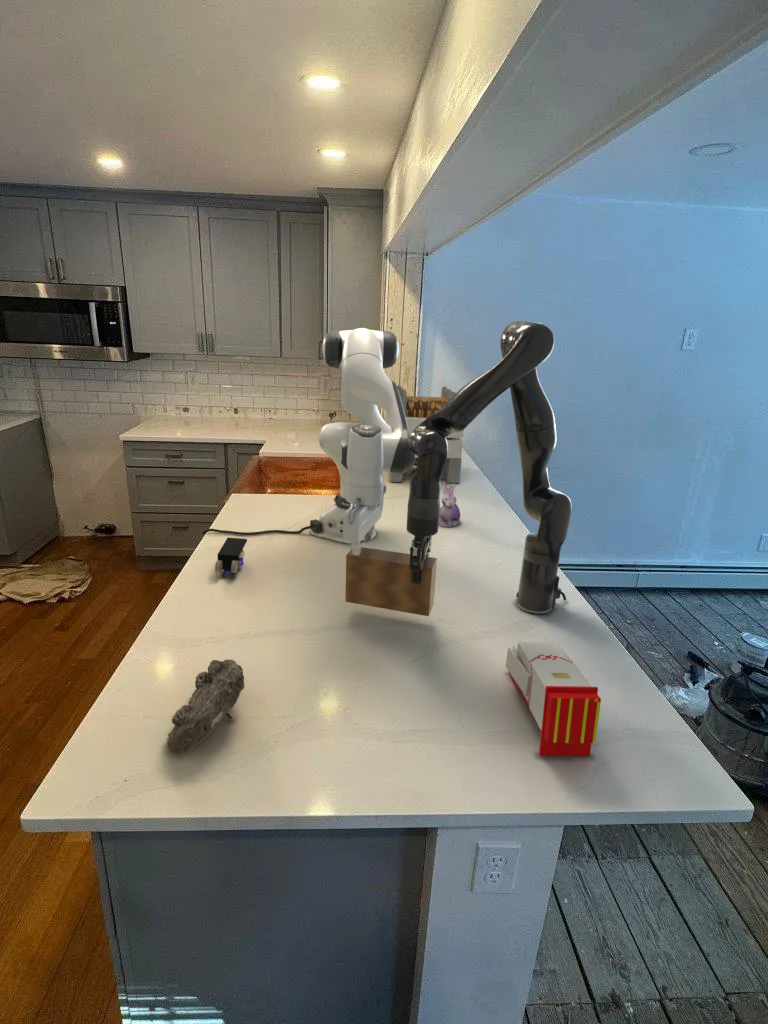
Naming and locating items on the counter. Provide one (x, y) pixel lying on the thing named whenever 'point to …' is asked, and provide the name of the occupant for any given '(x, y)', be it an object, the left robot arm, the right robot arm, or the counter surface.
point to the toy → (556, 697)
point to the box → (389, 581)
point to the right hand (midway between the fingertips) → (419, 576)
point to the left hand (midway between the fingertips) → (362, 546)
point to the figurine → (449, 508)
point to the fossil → (206, 705)
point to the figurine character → (230, 556)
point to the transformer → (421, 410)
